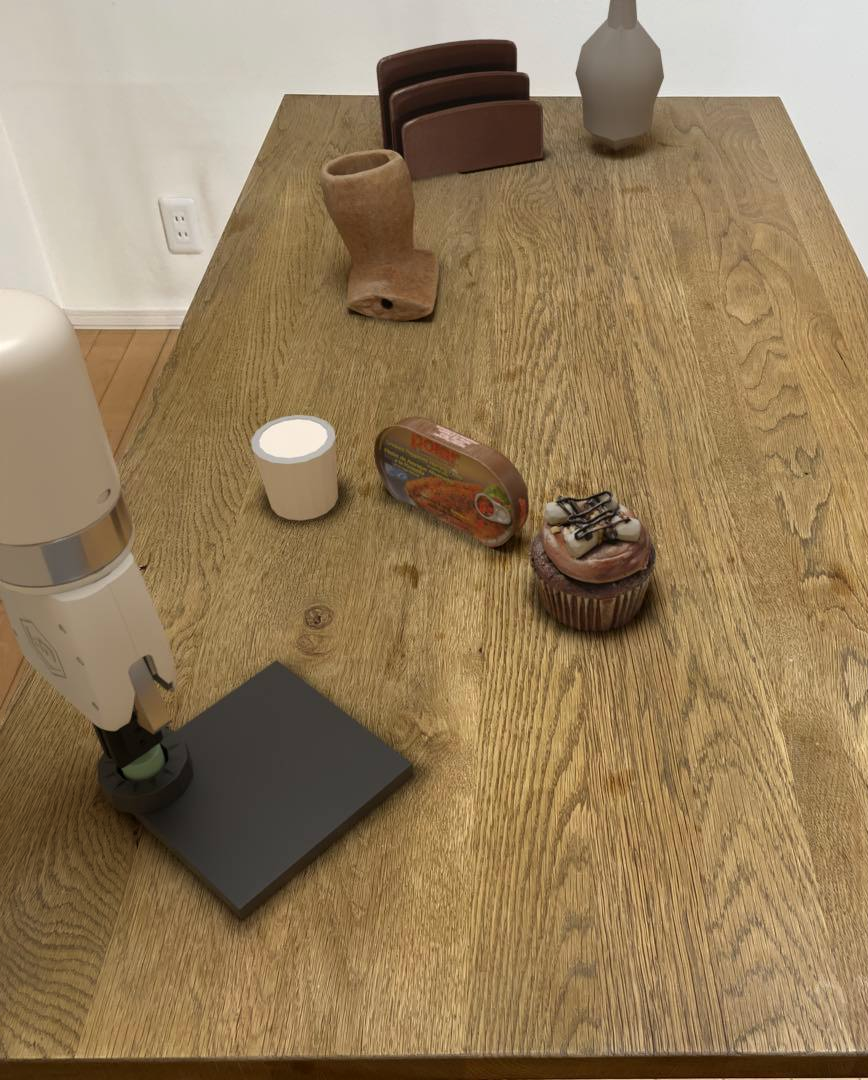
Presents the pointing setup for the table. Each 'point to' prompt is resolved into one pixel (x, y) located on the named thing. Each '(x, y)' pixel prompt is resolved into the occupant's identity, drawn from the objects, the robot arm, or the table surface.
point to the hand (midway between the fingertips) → (134, 747)
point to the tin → (452, 479)
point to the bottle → (619, 78)
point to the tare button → (145, 765)
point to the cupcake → (592, 562)
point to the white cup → (298, 465)
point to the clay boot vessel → (380, 235)
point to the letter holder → (458, 108)
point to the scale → (259, 786)
